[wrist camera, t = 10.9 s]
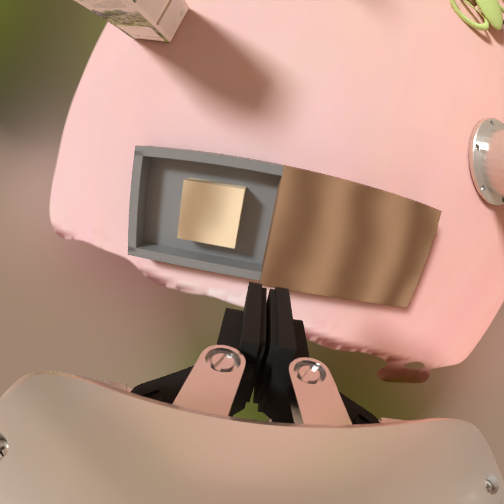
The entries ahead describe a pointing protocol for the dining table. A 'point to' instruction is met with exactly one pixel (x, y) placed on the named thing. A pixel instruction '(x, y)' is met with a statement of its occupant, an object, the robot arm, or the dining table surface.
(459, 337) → the dining table surface
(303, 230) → the board
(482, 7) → the figurine
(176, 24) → the syrup box
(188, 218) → the tile
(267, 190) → the box
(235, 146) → the dining table surface
